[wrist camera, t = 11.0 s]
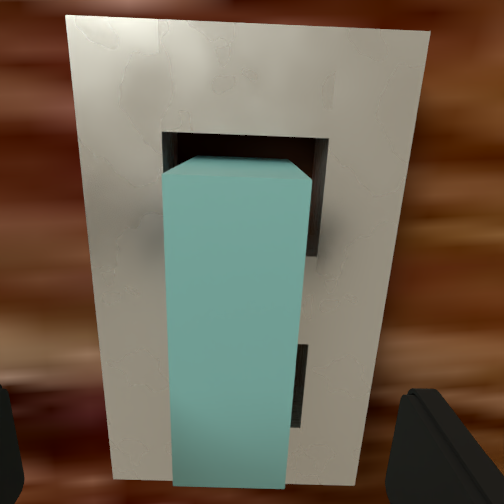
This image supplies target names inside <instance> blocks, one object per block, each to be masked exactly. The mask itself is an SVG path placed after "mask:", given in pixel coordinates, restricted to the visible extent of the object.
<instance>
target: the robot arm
mask: <svg viewBox="0 0 504 504" xmlns="http://www.w3.org/2000/svg"><path fill="white" fill-rule="evenodd" d="M23 484H24V472H23V467H22V462H21V456H20V451H19V446H18V441H17V435H16V430H15V425H14V420H13V415H12V409H11V404H10V399H9V394H8V391H7V390H6V389H2V386H1V385H0V504H14V503H15V502H16V500H17V498H18V497H19V495H20V493H21V491H22V488H23ZM385 486H386V492H387V495H388V498H389V501H390V503H391V504H504V476H503V475H502V473H501V472H500V471H499V469H498V468H497V467H496V465H495V464H494V463H493V461H492V460H491V459H490V458H489V457H488V456H487V455H486V453H485V452H484V451H483V449H482V448H481V447H480V445H479V444H478V443H477V441H476V440H475V439H474V438H473V436H472V435H471V434H470V432H469V431H468V430H467V428H466V427H465V426H464V424H463V423H462V422H461V420H460V419H459V418H458V416H457V415H456V414H455V413H454V411H453V410H452V409H451V407H450V406H449V405H448V403H447V402H446V401H445V399H444V398H443V397H442V395H441V394H440V393H439V392H438V391H437V390H436V389H413V388H412V389H410V390H409V391H408V394H407V395H403V396H402V397H401V400H400V405H399V410H398V416H397V421H396V426H395V431H394V436H393V442H392V447H391V452H390V457H389V462H388V468H387V473H386V479H385Z"/></svg>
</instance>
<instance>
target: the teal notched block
mask: <svg viewBox="0 0 504 504" xmlns="http://www.w3.org/2000/svg"><path fill="white" fill-rule="evenodd" d="M311 190H312V179H311V178H310V177H308V176H307V175H306V174H305V173H304V172H303V171H301V170H300V169H299V168H298V167H297V166H296V165H294V164H293V163H292V162H291V161H290V160H289V159H277V158H252V157H228V156H203V155H197V156H195V157H193V158H191V159H189V160H188V161H186V162H184V163H182V164H180V165H178V166H176V167H174V168H172V169H170V170H168V171H166V172H164V173H163V174H162V198H163V226H164V253H165V281H166V308H167V336H168V363H169V391H170V419H171V446H172V474H173V486H191V487H227V488H263V489H285V479H286V468H287V457H288V446H289V435H290V424H291V412H292V401H293V390H294V379H295V368H296V357H297V346H298V334H299V323H300V312H301V301H302V290H303V279H304V268H305V256H306V245H307V234H308V223H309V212H310V201H311Z"/></svg>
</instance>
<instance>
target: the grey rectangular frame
mask: <svg viewBox="0 0 504 504" xmlns="http://www.w3.org/2000/svg"><path fill="white" fill-rule="evenodd" d="M65 17H66V27H67V37H68V46H69V56H70V66H71V75H72V85H73V94H74V104H75V114H76V123H77V133H78V143H79V152H80V162H81V172H82V181H83V191H84V201H85V210H86V220H87V230H88V239H89V249H90V259H91V268H92V278H93V288H94V297H95V307H96V317H97V326H98V336H99V346H100V355H101V365H102V375H103V384H104V394H105V404H106V413H107V423H108V433H109V442H110V452H111V462H112V471H113V479H131V480H167V481H173V474H172V446H171V419H170V391H169V363H168V336H167V308H166V281H165V253H164V226H163V198H162V174H163V173H164V172H166V171H168V170H170V169H172V168H174V167H176V166H178V137H177V132H186V133H210V134H235V135H260V136H284V137H309V138H315V148H314V159H313V171H312V190H311V201H310V212H309V223H308V234H307V245H306V256H305V268H304V279H303V290H302V301H301V312H300V323H299V334H298V346H297V357H296V368H295V379H294V390H293V401H292V412H291V424H290V435H289V446H288V457H287V468H286V479H285V484H311V485H348V486H355V480H356V475H357V469H358V463H359V457H360V451H361V445H362V439H363V433H364V427H365V421H366V415H367V409H368V403H369V397H370V391H371V385H372V379H373V373H374V367H375V361H376V355H377V349H378V343H379V337H380V331H381V325H382V319H383V313H384V307H385V301H386V295H387V289H388V283H389V277H390V271H391V265H392V259H393V253H394V247H395V241H396V235H397V229H398V223H399V217H400V212H401V206H402V200H403V194H404V188H405V182H406V176H407V170H408V164H409V158H410V152H411V146H412V140H413V134H414V128H415V122H416V116H417V110H418V104H419V98H420V92H421V86H422V80H423V74H424V68H425V62H426V56H427V50H428V44H429V38H430V32H431V31H410V30H387V29H365V28H343V27H320V26H298V25H276V24H254V23H231V22H209V21H187V20H165V19H142V18H120V17H98V16H75V15H65Z"/></svg>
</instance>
